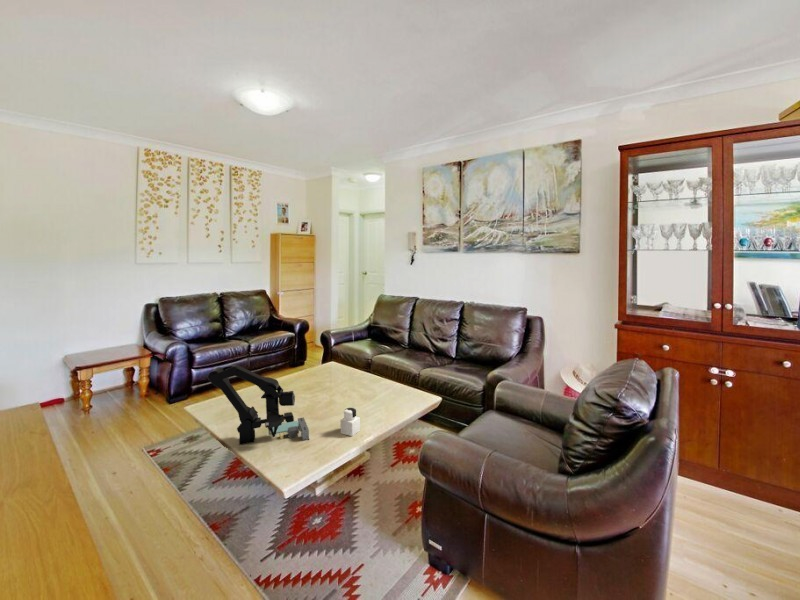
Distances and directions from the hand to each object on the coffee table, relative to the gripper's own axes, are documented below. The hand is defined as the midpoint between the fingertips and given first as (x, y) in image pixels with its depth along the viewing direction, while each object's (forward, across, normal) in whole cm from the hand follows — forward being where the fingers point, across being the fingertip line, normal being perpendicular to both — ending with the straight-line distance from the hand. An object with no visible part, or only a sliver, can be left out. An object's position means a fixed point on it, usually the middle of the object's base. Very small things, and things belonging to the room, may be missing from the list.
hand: (273, 436), depth 177 cm
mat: (+1, +6, +10) cm, 12 cm away
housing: (+1, +14, 0) cm, 14 cm away
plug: (+1, +7, 0) cm, 8 cm away
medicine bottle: (+2, +36, -8) cm, 37 cm away
